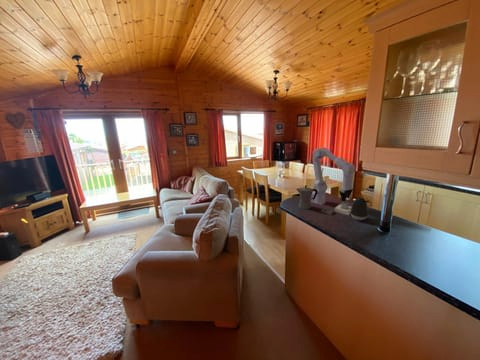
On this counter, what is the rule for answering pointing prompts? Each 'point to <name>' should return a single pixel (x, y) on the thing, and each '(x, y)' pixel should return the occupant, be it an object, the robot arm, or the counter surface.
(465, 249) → the counter surface
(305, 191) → the coffeepot
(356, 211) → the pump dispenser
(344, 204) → the plug
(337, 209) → the port
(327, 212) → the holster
